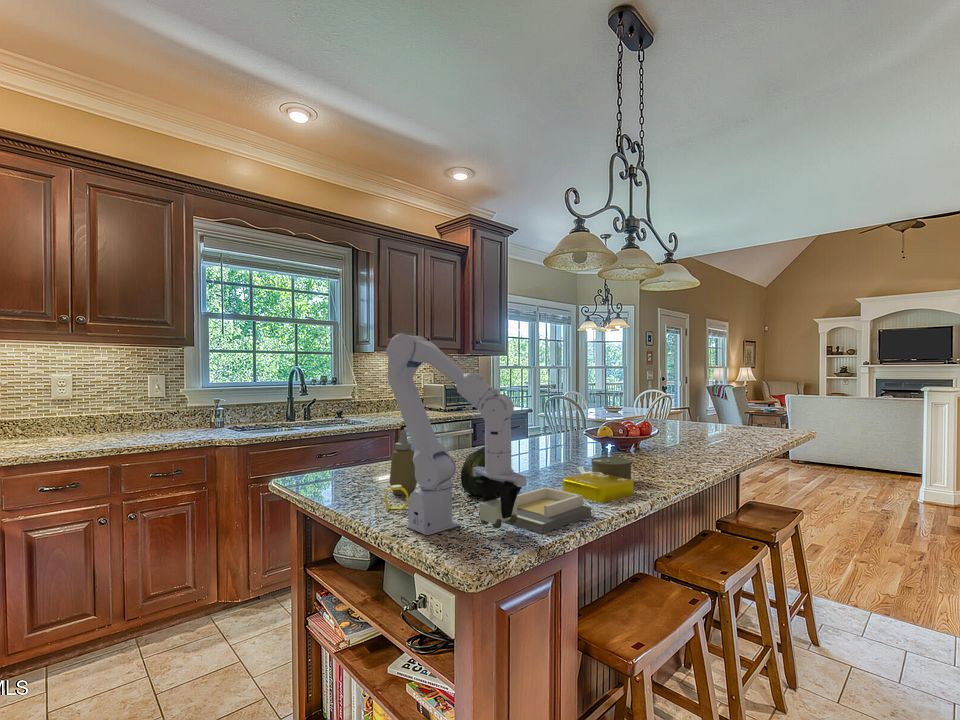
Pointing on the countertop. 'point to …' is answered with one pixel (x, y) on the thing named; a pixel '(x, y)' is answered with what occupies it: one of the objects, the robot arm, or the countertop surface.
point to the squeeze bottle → (403, 466)
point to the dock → (549, 509)
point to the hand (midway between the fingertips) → (498, 514)
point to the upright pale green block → (495, 513)
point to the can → (612, 466)
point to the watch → (396, 487)
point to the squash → (467, 472)
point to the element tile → (599, 486)
